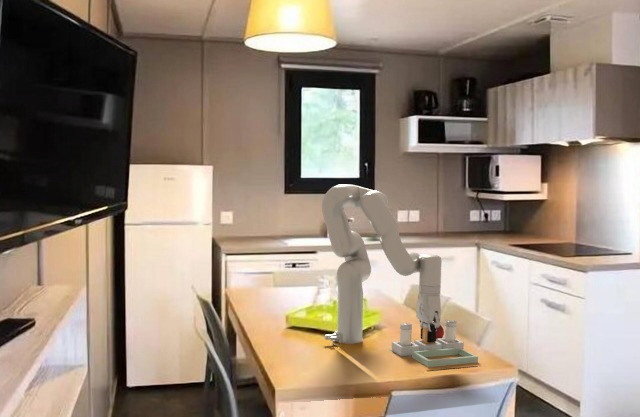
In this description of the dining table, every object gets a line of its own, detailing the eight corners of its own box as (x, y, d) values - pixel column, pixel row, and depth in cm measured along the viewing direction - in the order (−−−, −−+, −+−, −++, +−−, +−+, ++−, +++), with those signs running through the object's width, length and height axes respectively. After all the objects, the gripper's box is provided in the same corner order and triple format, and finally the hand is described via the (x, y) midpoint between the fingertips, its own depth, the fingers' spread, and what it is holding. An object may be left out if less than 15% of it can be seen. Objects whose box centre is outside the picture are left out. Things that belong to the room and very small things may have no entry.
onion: (444, 340, 239) (445, 320, 238) (442, 344, 233) (443, 323, 233) (429, 338, 241) (430, 318, 240) (427, 342, 235) (427, 321, 235)
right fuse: (447, 350, 219) (448, 323, 219) (441, 347, 223) (442, 320, 222) (457, 349, 220) (458, 322, 220) (451, 346, 224) (452, 319, 224)
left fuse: (402, 354, 213) (403, 326, 213) (397, 351, 217) (398, 323, 217) (413, 353, 215) (413, 325, 214) (407, 350, 218) (408, 322, 218)
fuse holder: (400, 361, 210) (400, 348, 210) (389, 353, 219) (389, 341, 219) (466, 355, 219) (466, 343, 219) (452, 348, 227) (453, 336, 227)
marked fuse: (425, 352, 216) (426, 324, 216) (419, 349, 220) (420, 321, 219) (435, 351, 218) (436, 323, 217) (429, 348, 221) (430, 321, 221)
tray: (427, 371, 200) (428, 360, 200) (411, 361, 210) (412, 351, 210) (477, 366, 206) (478, 356, 206) (459, 357, 216) (460, 347, 216)
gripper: (409, 285, 224) (407, 335, 225) (432, 294, 208) (430, 347, 209) (427, 285, 227) (425, 334, 228) (451, 293, 211) (449, 346, 212)
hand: (428, 340), depth 219 cm, fingers closed on marked fuse, 4 cm apart
